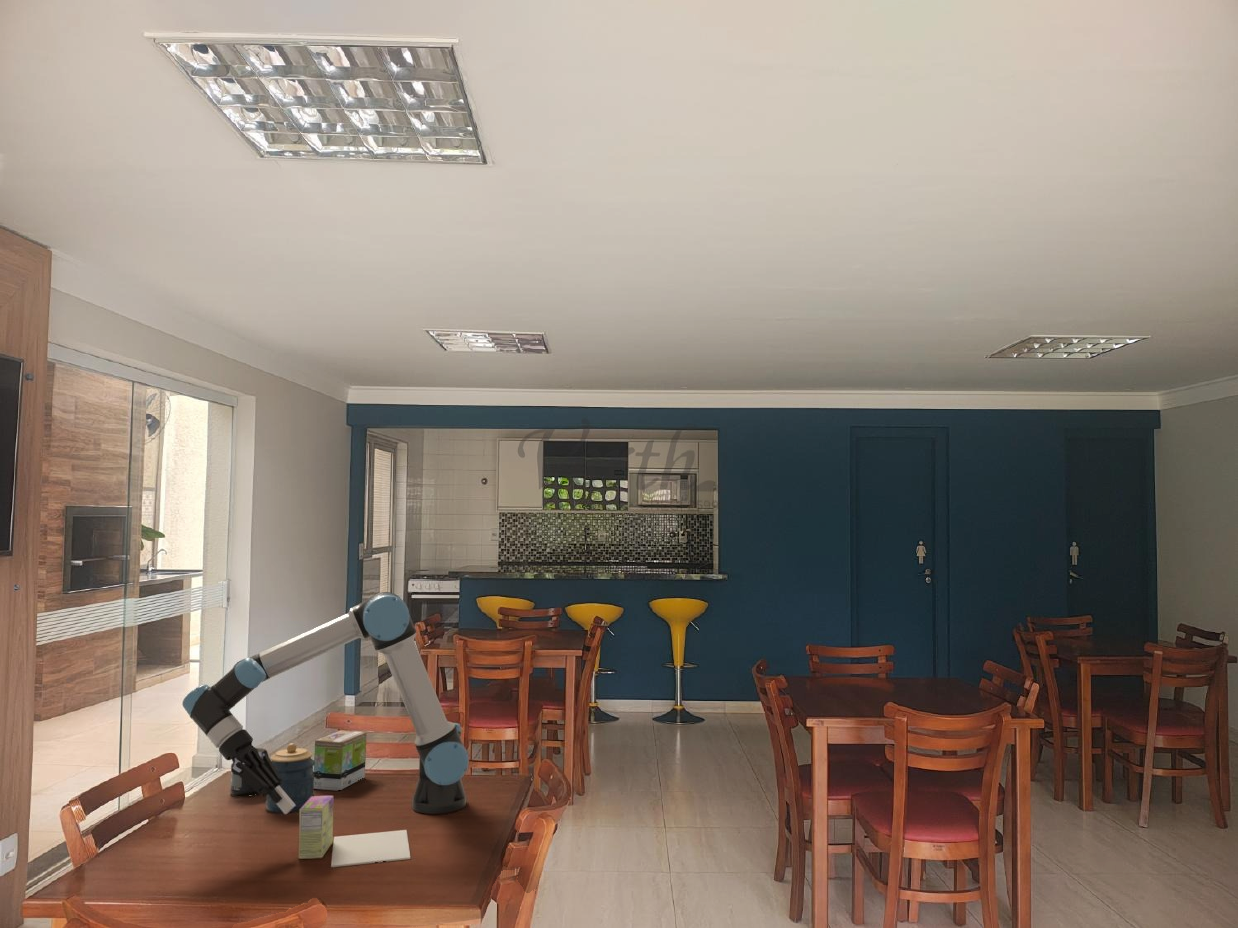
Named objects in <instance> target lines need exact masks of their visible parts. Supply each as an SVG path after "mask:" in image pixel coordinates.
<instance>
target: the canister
mask: <svg viewBox="0 0 1238 928" xmlns="http://www.w3.org/2000/svg"><path fill="white" fill-rule="evenodd" d="M312 756H313V752H311V751H309V750H308V749H306V748H299V747H297V745H296V743H294V742H293V743H292V742H291V743H288V745H287V746H286V748H285V749H280V750H278V751H276V752H275V753H274V754H273V755H271V756H270V757H269V758H270V760H271V762H272V763H273V765H274V767H275V768H276V770H277V771H278V773H279V775H280V776H281V778H282V783H281V784H280V787H281V788H282V789H283V790H284V791H285V793H286V794H287V795H288V796H289V798H290V799H291V800H292V801H293V802H294V804H295V805H296V806H295V807H294V808H293V809H292V810H291V811H290V812H289V813H295V812H300V808H301V807H302V806H303V805H304V804H305V803H306V802H307V801H308V800H309V799H310V798H311V797H312V796H315V793H314V792H315V791H314V790H315V789H314V776H315V773H314V772H313V771H314V764H315V761H314V758H313V759H312ZM265 798H266V799H265V806H266V811H268V812H270V813H275V814H276V813H277V814H284V813H283V811H282V810H281V809H280V808H279V807H278V805H277V804H276V803H275V802H274V801H273V800H272V799H271V797H270V796H269V795H267V796H266V797H265Z"/></svg>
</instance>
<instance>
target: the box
mask: <svg viewBox="0 0 1238 928" xmlns="http://www.w3.org/2000/svg"><path fill="white" fill-rule="evenodd" d="M298 812H299V814H298V815H299V819H298V821H299V824H298V825H299V827H298V828H299V835H298V837H299V838H298V860H299V859H300V860H306V859H307V860H309V859H312V860H313V859H323V857H324V856H325V854H326V853H327V851H328V850H329V849H330V847H331V846H333V842H334V836H333V834H334V795H314V796H312V797H311V798H310V799H309V800H308V801H307V802H306V803H305V804H304V805H303V806H302V807H301V808H300V811H298Z"/></svg>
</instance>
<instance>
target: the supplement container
mask: <svg viewBox="0 0 1238 928" xmlns="http://www.w3.org/2000/svg"><path fill="white" fill-rule="evenodd" d="M255 748H256V749H257V750H258V752H263V751H264V750H265V751H267V752H268V750H267V749H266V748H262V747H260V748H259V747H255ZM233 767H234V763H233V762H232V763H231V765H230V789H229V792H230V795H232V796H234V797H238V796H248V797H250V796H249V795H255V794H259V793H258V792H256V791H255V790H254V789H253V788H252V787H251V786H250V785H249V784H247V783H246V782H245V781H244V780H243V779H242V778H241V777H240V776H239V775H237V774H235V773H233V772H232V771H231V769H232V768H233ZM259 795H260V794H259ZM255 796H256V795H255Z"/></svg>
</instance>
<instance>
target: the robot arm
mask: <svg viewBox="0 0 1238 928" xmlns="http://www.w3.org/2000/svg"><path fill="white" fill-rule="evenodd" d="M417 634H418V631H417V630H416V627H415V625H414V622H413V620H412V618H411V614H410V610H409V607H408V605H407V604H406V602H405V600H403V599H402V598H401V597H400V596H399V595H397V594H396V593H393V592H390V591H389V592H388V591H381V592H378V593H375V594H374V595H372V596H370V597H369V598H367V599H366V600H364V601H362V602H360V603H359V604H357V605H355V606H354V605H353V606H352V607H350V608H349V611H348V612H347V613H345V614H344V615H341V616H339V617H337V618H334V619H332V620H330V621H327V622H325V623H323V624H320V625H319V626H317V627H315V628H312V629H310V630H308V631H306V632H304V633H300V634H299V635H297V636H294V637H292V638H290V639H287V640H285V641H283V642H280V643H279V644H277V645H275V646H272V647H270V648H268V649H266V650H263V651H260V652H259V653H257V654H255V655H252V656H250V657H246V658H243V659H240V660H239V661H237V662H236V663H235V664H234V665H233V666H232V668H231V669H230V670H229V671H228V672H227V673H226V674H225V675H223V677H221V678H220V679H219V680H218V681H217V682H216V683H215V684H213V685H211V686H209V684H205V683H204V684H202V685H199V686H197V687H196V688H194V689H193V690H191V691H189V693H187V694H186V696H185V697H184V699H183V700H182V704H181V705H182V708H183V709H184V710H185V711H186V713H187V714H188V715H189V718H190V719H191V720H192V721H193V722H194V723H195V724H196V726H197V727H198V728H199V729H200V730H201V731H202V733H204V734H205V736H206V737H207V738H208V740H210V742H211V743H212V745H214V747H215V748H217V749H218V752H219V754H220V755H222V756H223V758H224V759H225V760H226V761H232V763H234V767H233V768H232V769H231V768H230V772H231V771H232V772H233V773H235V774H237V775H239V776H240V777H241V778H242V779H243V780H244V781H245V782H246V783H247V784H249V785H250V786H251V787H252V788H253V789H254V790H255V791H256V792H258V793H259V795H260V796H262V797H264V798H266V797H267V795H269V796H270V797H271V799H272V800H273V801H274V802H275V803H276V804H277V805H278V807H279V808H280V809H281V810H282V811H283V813H282V814H284V815H287V814H289V813H291V812H290V811H291V810H292V809H293V808H294V807H295V806H296V805H295V804H294V802H293V801H292V800H291V799H290V798H289V796H288V795H287V794H286V793H285V791H284V790H283V789H282V788H281V787H280V784H281V783H282V778H281V776H280V775H279V773H278V771H277V770H276V768H275V767H274V765H273V763H272V762H271V761H272V760H271V759H270V757H269V752H268V750H267V751H265V750H264V751H263V752H258V750H257V749H256V748H257V747H256V746H253V741H254V738H253V737H252V736H251V734H249V732H248V731H247V729H243V727H244V726H243V725H242V723H241V722H240V721H239V720H238V719H237V718H236V717H235V715H234V714H233V713H232V711H230V710H231V709H232V708H235V706H236V705H237V704H238V703H239V702H241V700H244V699H245V697H247V696H248V695H249V694H250V693H251V692H252V691H254V689H256V688H258V687H259V686H260V685H261V683H263V682H265V681H267V680H269V679H271V678H274V677H276V676H278V675H281V674H282V673H285V672H286V671H289V670H291V669H293V668H296V667H297V666H300V665H303V664H304V663H306V662H309V661H311V660H313V659H315V658H318V657H320V656H321V655H324V654H326V653H328V652H331V651H333V650H335V649H337V648H339V647H342V646H344V645H346V644H348V643H350V642H352V641H355V640H357V639H361V640H365V639H367V638H370V641H371V642H372V646H373V648H374V650H375V652H377V653H380V654H382V655H383V656H384V659H385V661H386V663H387V665H388V668H389V671H390V673H391V675H392V678H393V680H394V682H395V685H396V687H397V689H398V692H399V694H400V698H401V699H402V702H403V704H404V706H405V709H406V712H407V713H408V716H409V719H410V721H411V723H412V726H413V728H414V730H415V733H416V738H415V741H414V743H413V744H414V745H415V746H414V747H415V748H416V750H417V751H416V752H417V753H418V755H419V759H418V760H419V763H418V764H419V766H418V768H419V769H418V772H419V773H418V781H417V784H416V788H415V790H414V794H413V797H412V803H411V804H412V805H411V807H412V808H411V809H412V810H413V811H415V812H417V813H421V814H425V815H426V814H427V815H428V814H430V815H434V814H435V815H440V814H446V813H447V814H448V813H453V812H456V811H460V810H462V809H463V808H464V807H466V805H467V795H466V792H465V788H464V784H463V781H462V778H463V777H464V776H465V774H466V772H467V771H468V768H469V764H470V763H469V761H470V757H469V756H470V755H469V753H468V750H467V748H466V747H465V746H464V743H463V741H462V732H463V731H462V727H461V724H460V723H456V722H451V721H448V719H447V717H446V715H445V712H444V710H443V707H442V705H441V702H440V701H439V698H438V695H437V693H436V690H435V688H434V685H433V684H432V680H431V679H430V676H429V674H428V671H427V669H426V666H425V664H424V662H423V659H422V657H421V654H420V652H419V650H418V649H419V648H418V647H417V645H416V641H415V639H416V636H417Z"/></svg>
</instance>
